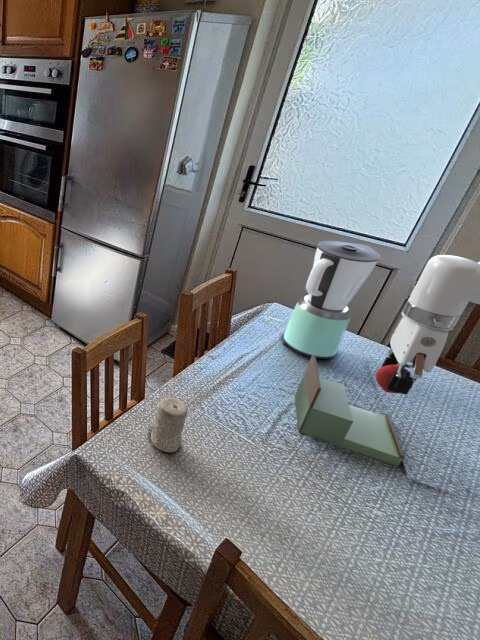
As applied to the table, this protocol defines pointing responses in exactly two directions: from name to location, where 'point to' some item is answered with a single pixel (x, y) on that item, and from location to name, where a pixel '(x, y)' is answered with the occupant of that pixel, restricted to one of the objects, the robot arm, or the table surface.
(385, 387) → the onion
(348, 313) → the juicer
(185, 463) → the table surface
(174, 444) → the carving
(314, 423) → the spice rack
